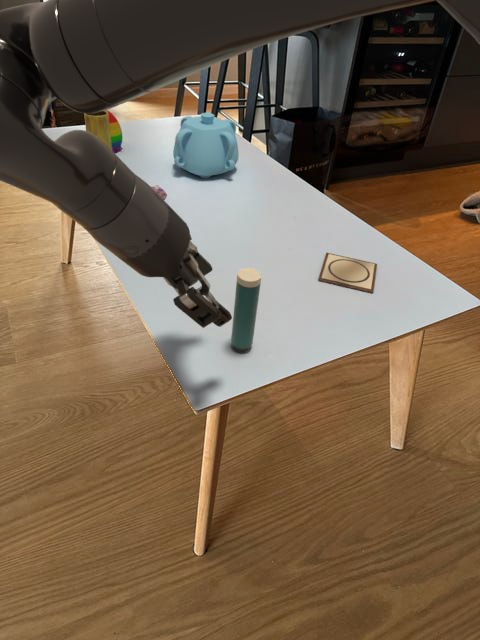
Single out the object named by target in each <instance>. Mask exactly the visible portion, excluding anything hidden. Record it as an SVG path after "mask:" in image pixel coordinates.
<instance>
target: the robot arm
mask: <svg viewBox="0 0 480 640" xmlns="http://www.w3.org/2000/svg"><path fill="white" fill-rule="evenodd" d="M431 2H436V3H438V4H439V5H440V6H441V7H442V8H443V9H444V10H445V12H447V13H448V14H449V15H450V16H451V18H453V19H454V20H455V21H456V22H457V23H458V24H459V25H460V26H461V27H462V28H463V29H464V30H465V31H466V32H467V33H468V35H470V36H471V37H472V38H473V40H474V41H475V42H476V43H477V44H478V45H479V46H480V0H46V1H39V2H30V3H29V2H28V3H25V4H24V3H23V4H21V5H20V4H19V5H15V6H12V7H7V8H3V9H0V182H2V183H5V184H7V185H9V186H12V187H14V188H17V189H19V190H21V191H24V192H26V193H28V194H30V195H33V196H35V197H38V198H39V199H43V200H45V201H47V202H49V203H50V204H53V206H55V207H56V209H59V211H61V212H62V213H63V214H64V215H66V216H68V217H69V218H70V219H71V220H73V221H74V223H77V224H78V225H79V226H81V228H83V229H84V230H85V231H86V232H87V233H88V234H89V235H90V236H91V237H92V238H93V239H94V240H95V241H96V242H97V243H98V244H100V246H102V247H103V248H105V249H106V250H107V251H109V252H110V253H111V254H113V256H115V257H117V258H118V259H119V260H120V261H122V262H123V263H125V264H126V265H127V266H128V267H130V268H131V269H132V270H133V271H135V272H136V273H138V274H139V275H141V276H143V277H146V278H163V280H164V281H165V282H166V284H167V285H168V286H170V287H172V288H173V289H174V291H175V293H176V294H177V296H176V297H173V299H172V300H173V304H174V306H176V308H177V309H179V310H180V311H181V312H183V313H184V314H185V315H186V316H187V317H189V318H190V319H191V320H192V321H194V322H195V323H196V324H197V325H198V326H200V327H201V328H202V329H204V328H206V327H207V326H209V325H211V324H212V323H213V324H214V325H215V326H216V327H219V328H221V327H222V326H224V325H226V324H227V323H229V322H230V321H232V320H233V317H232V313H231V312H230V311H229V310H228V309H226V307H225V306H224V305H222V304H221V303H220V302H219V301H218V300H217V299H216V298H215V297H214V295H213V294H212V292H211V290H210V289H211V284H210V282H209V281H208V279H207V278H206V277H205V276H207V275H208V274H210V273H212V271H213V266H212V264H211V263H210V262H209V261H208V260H207V259H206V258H205V257H204V256H203V255H202V254H200V252H199V250H198V247H197V246H196V245H195V244H194V243H193V241H192V240H193V238H192V236H191V230H190V228H189V226H188V224H187V223H186V221H185V220H184V219H183V218H182V217H181V216H180V215H179V214H178V213H177V212H176V211H175V210H174V209H173V208H172V206H170V205H169V204H168V203H167V202H166V200H163V199H162V198H161V197H160V196H159V195H158V194H157V193H156V192H155V191H154V190H153V188H152V187H153V186H151V185H149V184H148V183H147V182H146V181H145V180H144V179H143V178H141V177H140V176H138V175H137V174H136V173H134V172H133V170H131V168H130V167H128V165H126V163H125V162H124V161H123V160H122V159H121V158H120V157H119V156H118V155H117V154H116V152H113V151H112V150H111V149H110V148H109V147H108V146H107V145H106V144H105V143H103V142H102V141H101V140H100V139H99V138H98V137H97V136H95V135H94V134H92V133H90V132H88V131H86V130H85V129H73V130H70V131H67V132H65V133H63V134H61V135H60V136H59V137H57V138H56V139H55V140H53V139H52V138H51V137H49V135H47V134H46V133H45V132H44V130H43V125H44V122H45V119H46V114H47V113H48V108H49V105H50V104H51V103H52V102H54V101H55V100H56V99H57V100H58V101H59V102H60V103H62V104H63V105H64V106H65V107H67V108H69V109H70V110H72V111H75V112H77V113H81V114H84V113H88V114H89V113H97V112H101V111H105V110H107V111H109V110H111V109H113V108H116V107H118V106H120V105H123V104H126V103H128V102H130V101H133V100H135V99H138V98H140V97H142V96H145V95H148V94H149V93H153V92H154V91H157V90H159V89H162V88H163V87H164V88H165V87H166V86H168V85H171V84H173V83H175V82H178V81H180V80H182V79H185V78H188V77H189V76H192V75H194V74H196V73H199V72H201V71H204V70H205V69H208V68H210V67H213V66H215V65H218V64H219V63H222V62H225V61H227V60H230V59H232V58H234V57H237V56H239V55H241V54H244V53H247V52H249V51H252V50H254V49H258V48H261V47H263V46H265V45H268V44H271V43H275V42H277V41H280V40H283V39H286V38H289V37H292V36H296V35H298V34H303V33H306V32H309V31H312V30H316V29H319V28H323V27H326V26H330V25H334V24H338V23H341V22H345V21H348V20H353V19H357V18H361V17H366V16H371V15H374V14H375V15H376V14H380V13H385V12H389V11H395V10H398V9H399V10H400V9H404V8H409V7H412V6H418V5H422V4H423V5H424V4H426V3H431ZM150 186H151V187H150ZM198 282H199V283H200V284H201V286H199V287H197V288H195V287H194V285H195V284H196V283H198Z"/></svg>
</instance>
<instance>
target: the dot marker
mask: <svg viewBox="0 0 480 640" xmlns="http://www.w3.org/2000/svg"><path fill="white" fill-rule="evenodd" d="M261 283H262V273H261V271H259V270H258V269H256V268H254V267H253V268H252V267H242V268H241V269H239V270H238V271H237V273H236V284H235V296H234V306H233V317H232V327H231V339H230V342H231V347H232V350H234V351H235V352H237V353H241V354H244V353H247V352H249V351H250V350H251V348H252V345H253V342H254V334H255V327H256V321H257V320H256V319H257V314H258V305H259V300H260V299H259V297H260V291H261Z"/></svg>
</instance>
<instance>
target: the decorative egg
mask: <svg viewBox="0 0 480 640" xmlns="http://www.w3.org/2000/svg"><path fill="white" fill-rule="evenodd" d="M105 111H107V112H108V115H109V126H110V136H111V144H112V151H113V152H114V153H116V152H118V151H119V150H120V148H121V147H122V143H123V131H122V127H121V125H120V122H119V120H118V119H117V117H116V116H115V115H114V114H113V113H112V112H110V111H109V110H105Z"/></svg>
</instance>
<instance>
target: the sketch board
mask: <svg viewBox="0 0 480 640" xmlns="http://www.w3.org/2000/svg"><path fill="white" fill-rule="evenodd" d="M377 268H378V263H377V262H376V263H375V262H371V261H367V260H362V259H357V258H354V257H353V258H352V257H349V256H343V255H339V254H335V253H330V252H326V253H325V256H324V259H323V262H322V265H321V269H320V272H319V275H318V278H317V281H318V282H322V283H326V284H330V285H334V286H338V287H342V288H348V289H351V290H356V291H360V292H363V293H364V292H365V293H369V294H374V292H375V284H376V277H377V276H376V275H377Z"/></svg>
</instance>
